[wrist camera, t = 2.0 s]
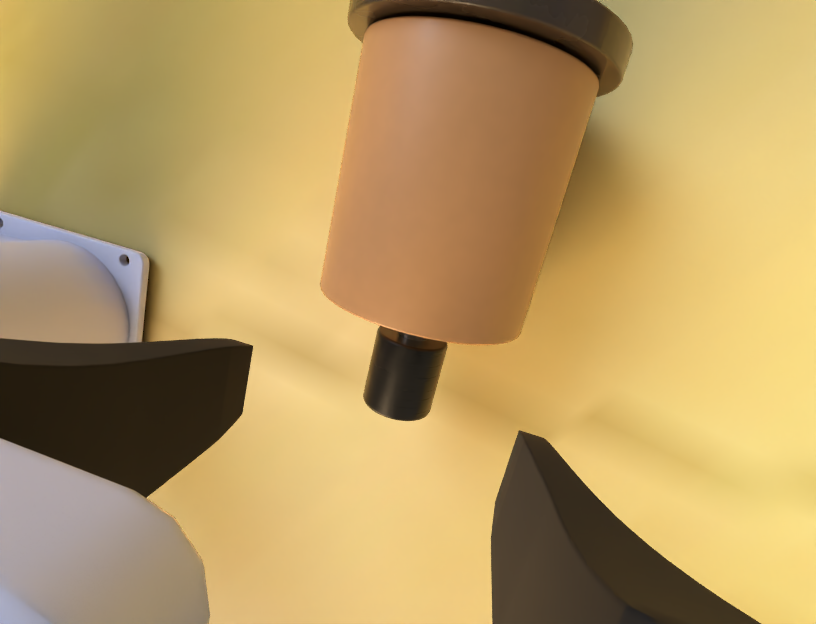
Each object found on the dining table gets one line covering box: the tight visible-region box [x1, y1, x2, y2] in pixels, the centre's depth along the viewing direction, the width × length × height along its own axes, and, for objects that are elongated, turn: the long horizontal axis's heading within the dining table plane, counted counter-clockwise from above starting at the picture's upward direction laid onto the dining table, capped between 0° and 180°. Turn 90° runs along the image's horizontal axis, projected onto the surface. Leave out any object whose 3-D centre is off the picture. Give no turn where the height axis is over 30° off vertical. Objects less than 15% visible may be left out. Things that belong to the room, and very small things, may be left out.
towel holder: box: [320, 0, 633, 421], centre depth 14 cm, size 8×8×12 cm
